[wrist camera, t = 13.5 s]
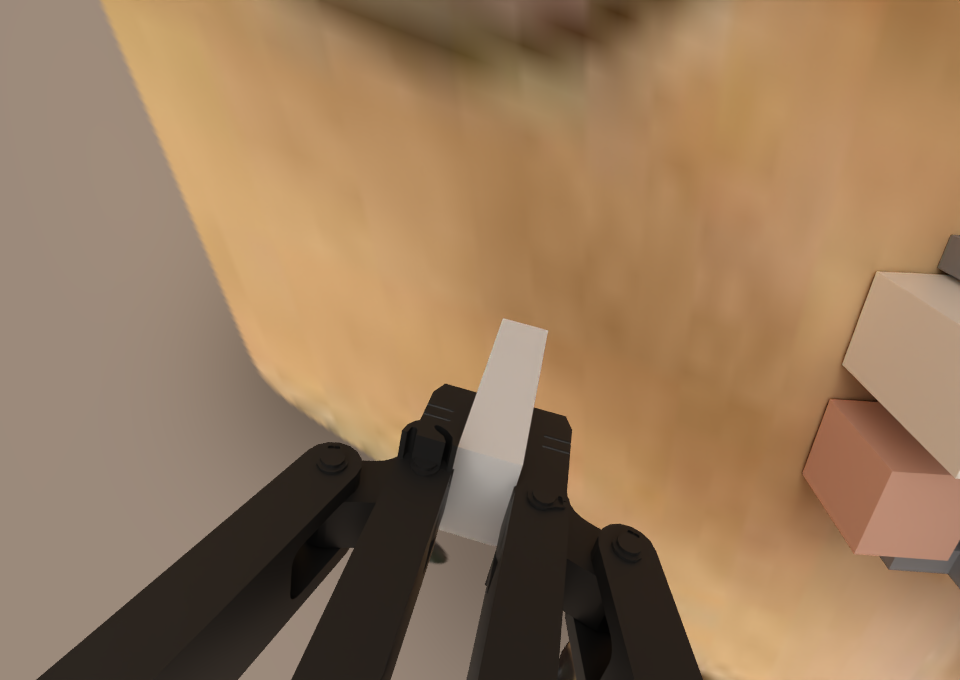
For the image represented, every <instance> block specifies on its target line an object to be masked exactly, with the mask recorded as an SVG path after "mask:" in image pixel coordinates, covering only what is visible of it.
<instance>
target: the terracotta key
mask: <svg viewBox="0 0 960 680" xmlns="http://www.w3.org/2000/svg"><path fill="white" fill-rule="evenodd" d="M802 474H803V476H804V477H805V479H806V480H807V482H808V483H809V485H810V487H811V488H812V490H813V491H814V493H815V494H816V496H817V497H818V499H819V500H820V502H821V504H822V505H823V507H824V508H825V510H826V511H827V513H828V514H829V516H830V517H831V519H832V520H833V522H834V524H835V525H836V527H837V528H838V530H839V531H840V533H841V534H842V536H843V537H844V539H845V541H846V542H847V544H848V545H849V547H850V548H851V550H852V551H853V553H854V554H861V555H875V556H889V557H902V558H916V559H930V560H944V561H948V560H949V558H950V556H951V554H952V553H953V551H954V549H955V547H956V546H957V544H958V542H959V540H960V479H955V478H954V477H953V476H952V475H951V474H950V473H949V472H948V471H947V470H946V469H945V468H944V467H943V466H942V465H941V464H940V463H939V462H938V461H937V460H936V459H935V458H934V457H933V456H932V455H931V454H930V453H929V452H928V451H927V450H926V449H925V448H924V447H923V446H922V445H921V444H920V443H919V442H918V441H917V440H916V439H915V438H914V437H913V436H912V435H911V434H910V433H909V431H908V430H907V429H906V428H905V427H904V426H903V425H902V424H901V423H900V422H899V421H898V420H897V419H896V418H895V417H894V416H893V415H892V414H891V413H890V412H889V411H888V410H887V409H886V408H885V407H884V406H883V405H882V404H881V403H880V402H870V401H854V400H837V399H830V400H829V403H828V406H827V408H826V411H825V414H824V417H823V419H822V422H821V425H820V427H819V430H818V433H817V435H816V438H815V441H814V444H813V446H812V449H811V452H810V454H809V457H808V460H807V462H806V465H805V468H804V470H803V473H802Z"/></svg>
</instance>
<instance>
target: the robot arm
mask: <svg viewBox="0 0 960 680" xmlns="http://www.w3.org/2000/svg"><path fill="white" fill-rule="evenodd" d="M547 334H548V330H545V329H541V328H537V327H534V326H530V325H526V324H523V323H519V322H515V321H512V320H508V319H504V318H503V320H502V322H501V325H500V328H499V331H498V334H497V337H496V340H495V342H494V345H493V348H492V351H491V354H490V357H489V360H488V362H487V365H486V368H485V371H484V374H483V377H482V379H481V382H480V385H479V388H478V391H477V393H476V392H473V391H469V390H466V389H462V388H459V387H455V386H452V385H448V384H444V385H443V386H441V387H440V388H438V389H437V390H435V391H434V392H433V394H432V396H431V398H430V400H429V402H428V405H427V407H426V409H425V411H424V414H423V415H422V417H421V419H420V420H418V421H414V422H412V423H410V424H407V426H406V427H405V428H404V429H403V430H402V434H401V440H400V446H399V452H398V456H397V457H395V458H393V459H389V460H385V461H362V459H361V457H360V456H359V454H358V452H357V451H356V450H354V449H353V448H352V447H350V446H348V445H345V444H342V443H332V442H327V443H323V444H318V445H316V446H314V447H313V448H311V449H309V450H308V451H307V452H305V453H304V454H303V455H302V456H301V457H299V458H298V459H297V460H296V461H295V462H294V463H292V464H291V465H290V466H289V467H288V468H286V469H285V470H284V471H283V472H282V473H281V474H279V475H278V476H277V477H276V478H275V479H273V481H271V482H270V483H269V484H267V485H266V486H265V487H264V488H263V489H262V490H260V491H259V492H258V493H257V494H256V495H254V496H253V497H252V498H251V499H250V500H249V501H247V502H246V503H245V504H244V505H243V506H241V507H240V508H239V509H238V510H237V511H236V512H234V513H233V514H232V515H231V516H230V517H228V518H227V519H226V520H225V521H224V522H222V523H221V524H220V525H219V526H218V527H217V528H215V529H214V530H213V531H212V532H211V533H209V534H208V535H207V536H206V537H205V538H204V539H202V540H201V541H200V542H199V543H198V544H196V545H195V546H194V547H193V548H192V549H191V550H189V551H188V552H187V553H186V554H185V555H183V556H182V557H181V558H180V559H179V560H178V561H177V562H175V563H174V564H173V565H172V566H171V567H169V568H168V569H167V570H166V571H164V572H163V573H162V574H161V575H160V576H159V577H158V578H156V579H155V580H154V581H153V582H152V583H150V584H149V585H148V586H147V587H145V589H143V590H142V591H141V592H140V593H138V594H137V595H136V596H135V597H134V598H133V599H131V600H130V601H129V602H128V603H127V604H125V605H124V606H123V607H122V608H121V609H119V610H118V611H117V612H116V613H115V614H114V615H112V616H111V617H110V618H109V619H108V620H107V621H105V622H104V623H103V624H102V625H100V627H98V628H97V629H96V630H95V631H93V632H92V633H91V634H90V635H89V636H87V637H86V638H85V639H84V640H83V641H82V642H80V643H79V644H78V645H77V646H76V647H74V649H72V650H71V651H70V652H68V653H67V654H66V655H65V656H64V657H63V658H61V659H60V660H59V661H58V662H57V663H55V664H54V665H53V666H52V667H51V668H50V669H48V670H47V671H46V672H45V673H44V674H43V675H41V676H40V677H39V678H38V679H37V680H238V679H239V678H240V677H241V675H242V674H243V673H244V672H245V671H246V669H247V668H248V667H249V666H250V665H251V664H252V663H253V661H254V660H255V659H256V658H257V657H258V656H259V654H260V653H261V652H262V651H263V650H264V649H265V647H266V646H267V645H268V644H269V643H270V642H271V640H272V639H273V638H274V637H275V636H276V635H277V633H278V632H279V631H280V630H281V629H282V627H283V626H284V625H285V624H286V623H287V622H288V621H289V619H290V618H291V617H292V616H293V615H294V614H295V612H296V611H297V610H298V609H299V608H300V607H301V605H302V604H303V603H304V602H305V601H306V600H307V598H308V597H309V596H310V595H311V594H312V593H313V591H314V590H315V589H316V588H317V587H318V586H319V584H320V583H321V582H322V581H323V580H324V579H325V577H326V576H327V575H328V574H329V572H331V570H332V569H333V568H334V567H335V566H336V565H337V563H338V562H339V561H340V560H341V558H343V556H344V555H345V554H346V553H347V551H348V550H349V548H354V550H353V552H352V554H351V556H350V558H349V560H348V562H347V565H346V566H345V568H344V571H343V573H342V575H341V577H340V579H339V581H338V583H337V585H336V587H335V589H334V592H333V594H332V596H331V598H330V600H329V602H328V604H327V606H326V608H325V610H324V612H323V615H322V617H321V619H320V621H319V623H318V625H317V627H316V629H315V631H314V633H313V635H312V638H311V640H310V642H309V644H308V646H307V648H306V650H305V652H304V654H303V656H302V658H301V661H300V663H299V665H298V667H297V669H296V671H295V673H294V675H293V677H292V680H390V679H391V677H392V674H393V670H394V667H395V664H396V661H397V658H398V655H399V652H400V649H401V646H402V643H403V640H404V637H405V634H406V631H407V628H408V625H409V621H410V618H411V615H412V612H413V609H414V606H415V603H416V600H417V597H418V594H419V590H420V588H421V585H422V581H423V578H424V575H425V572H426V569H427V566H428V563H429V560H430V557H431V554H432V551H433V548H434V544H435V539H436V535H437V532H438V530H441V531H445V532H448V533H451V534H455V535H458V536H461V537H465V538H468V539H471V540H475V541H478V542H481V543H485V544H488V545H491V546H495V547H497V548H496V552H495V555H494V558H493V561H492V564H491V567H490V570H489V574H488V577H487V580H486V583H485V585H486V586H487V587H486V592H485V597H484V601H483V606H482V611H481V615H480V620H479V625H478V629H477V634H476V639H475V643H474V648H473V653H472V657H471V662H470V667H469V671H468V675H467V680H557V679H558V666H559V653H560V640H561V626H562V613H563V611H564V612H565V619H566V625H567V630H568V636H569V641H570V647H571V652H572V658H573V663H574V669H575V674H576V680H703V678H702V676H701V673H700V670H699V668H698V665H697V662H696V659H695V657H694V654H693V651H692V648H691V646H690V643H689V640H688V637H687V635H686V632H685V629H684V626H683V624H682V621H681V618H680V615H679V613H678V610H677V607H676V605H675V602H674V599H673V596H672V594H671V591H670V588H669V585H668V583H667V580H666V577H665V574H664V572H663V569H662V566H661V563H660V561H659V558H658V555H657V553H656V550H655V548H654V547H653V545H652V543H651V541H650V540H649V539H648V538H646V537H645V536H644V535H643V534H642V533H641V532H639V531H637V530H636V529H634V528H632V527H630V526H626V525H622V524H610V525H608V526H606V527H604V528H603V529H602V530H601V529H599V528H597V527H596V526H594V525H592V524H590V523H589V522H587V521H586V520H584V519H583V518H581V517H580V516H579V515H578V514H577V513H576V512H575V511H574V509H573V508H572V506H571V505H570V502H569V498H568V497H567V484H568V472H569V460H570V448H571V445H570V444H571V436H572V429H571V427H570V424H569V422H568V420H567V418H566V416H562V415H559V414H555V413H552V412H548V411H544V410H541V409H537V408H534V403H535V398H536V392H537V387H538V382H539V377H540V371H541V366H542V361H543V355H544V350H545V345H546V339H547Z"/></svg>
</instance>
